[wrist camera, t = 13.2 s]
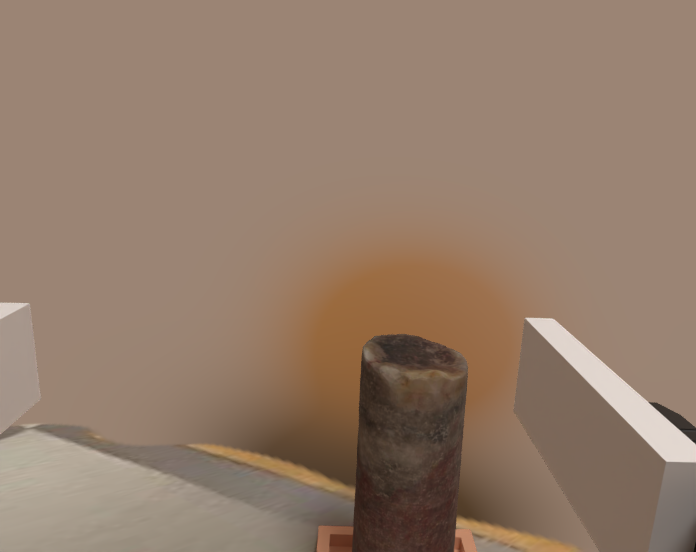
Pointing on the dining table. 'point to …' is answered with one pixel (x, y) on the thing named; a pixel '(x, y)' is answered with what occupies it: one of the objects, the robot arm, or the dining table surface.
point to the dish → (338, 539)
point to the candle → (408, 445)
